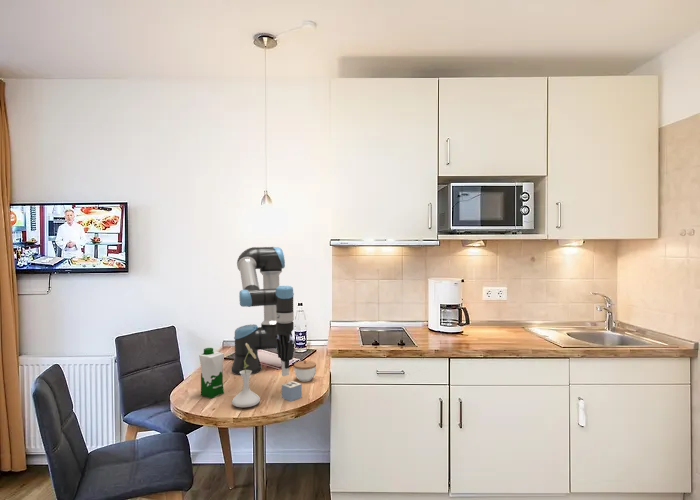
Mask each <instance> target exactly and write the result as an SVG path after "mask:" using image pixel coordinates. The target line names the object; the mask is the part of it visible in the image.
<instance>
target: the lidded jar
mask: <svg viewBox="0 0 700 500" xmlns="http://www.w3.org/2000/svg"><path fill="white" fill-rule="evenodd" d="M293 368H294V369H293V371H294V375H295V378H297V380H298V381H299V382H303V383H306V382H311V381H312V379H313V378H314V377H315V375H316V372H317V363H316V362H315V361H312V360H302V361H301V360H300V361H297V362H294V363H293Z"/></svg>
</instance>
